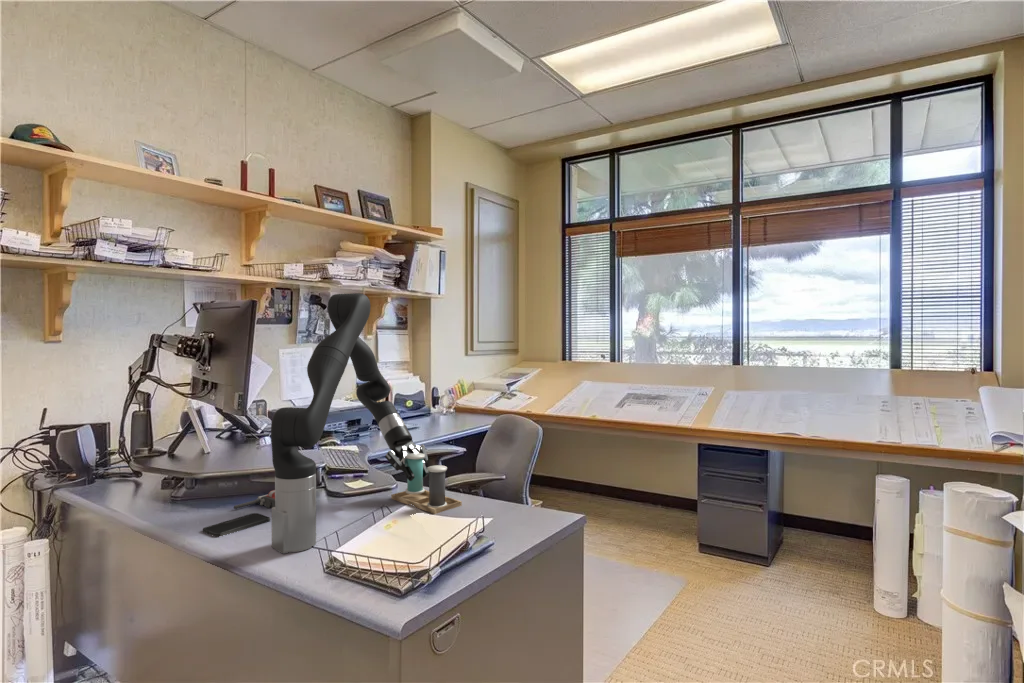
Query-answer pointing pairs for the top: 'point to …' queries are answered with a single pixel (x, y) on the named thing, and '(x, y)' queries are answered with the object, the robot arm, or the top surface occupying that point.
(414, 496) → the tray
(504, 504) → the top surface
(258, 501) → the red grey long piece
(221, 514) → the top surface
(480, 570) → the top surface
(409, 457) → the teal spool
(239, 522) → the phone
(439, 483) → the black spool
